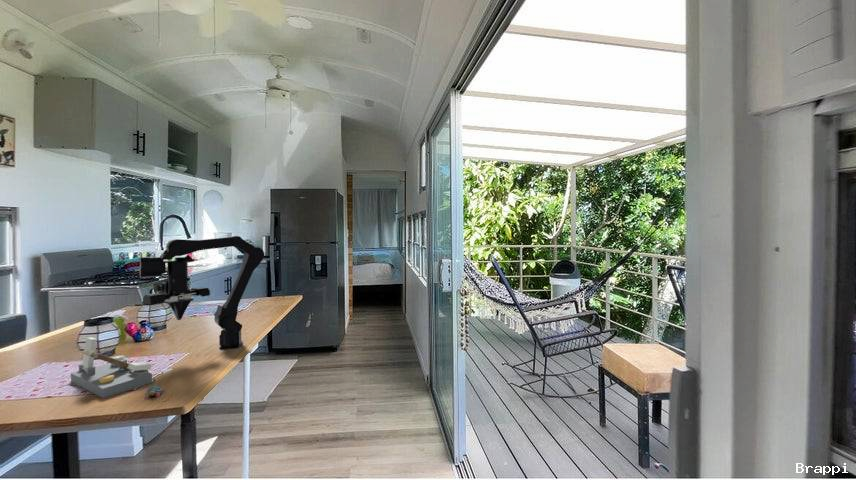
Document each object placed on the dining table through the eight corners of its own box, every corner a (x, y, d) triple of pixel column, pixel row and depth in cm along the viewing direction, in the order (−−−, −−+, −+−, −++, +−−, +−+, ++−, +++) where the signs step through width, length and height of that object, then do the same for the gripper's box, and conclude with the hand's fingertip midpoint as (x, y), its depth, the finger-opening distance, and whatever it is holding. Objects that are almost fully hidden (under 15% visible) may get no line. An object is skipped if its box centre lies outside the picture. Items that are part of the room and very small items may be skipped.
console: (118, 368, 112) (117, 354, 112) (152, 382, 101) (151, 366, 101) (71, 381, 102) (70, 366, 102) (102, 398, 92) (102, 381, 92)
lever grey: (87, 366, 104) (91, 337, 105) (92, 368, 102) (97, 339, 103) (81, 367, 103) (86, 337, 104) (87, 369, 101) (91, 339, 102)
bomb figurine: (178, 390, 97) (177, 371, 97) (156, 404, 89) (155, 383, 89) (150, 390, 97) (150, 371, 97) (126, 404, 90) (125, 383, 90)
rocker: (143, 367, 104) (145, 362, 105) (150, 369, 103) (151, 364, 103) (127, 368, 101) (129, 363, 101) (134, 370, 99) (135, 365, 99)
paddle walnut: (124, 362, 106) (86, 349, 99) (131, 364, 104) (93, 351, 97) (121, 366, 106) (83, 353, 98) (128, 368, 103) (89, 356, 96)
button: (121, 361, 111) (121, 354, 111) (126, 363, 109) (126, 356, 109) (109, 365, 108) (108, 358, 108) (113, 366, 106) (113, 359, 106)
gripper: (193, 271, 134) (194, 311, 134) (134, 277, 117) (135, 323, 118) (210, 272, 128) (211, 315, 129) (150, 279, 112) (152, 327, 112)
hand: (179, 319), depth 122 cm, fingers closed
